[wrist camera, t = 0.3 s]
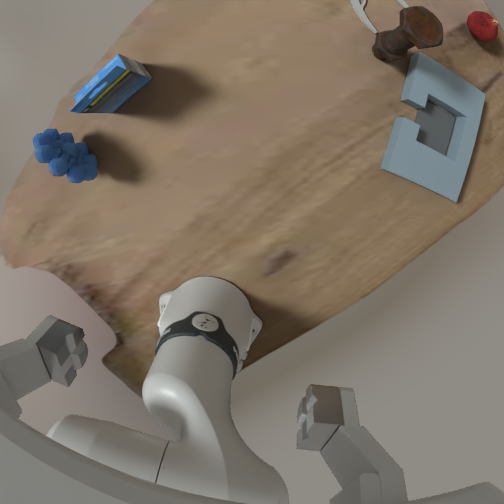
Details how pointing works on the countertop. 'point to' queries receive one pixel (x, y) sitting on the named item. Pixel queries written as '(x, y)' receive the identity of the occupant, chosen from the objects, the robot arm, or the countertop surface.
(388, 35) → the bolt
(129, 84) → the label tape box
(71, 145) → the grapes
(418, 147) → the pocket frame
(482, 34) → the onion
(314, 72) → the countertop surface
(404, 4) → the pliers
